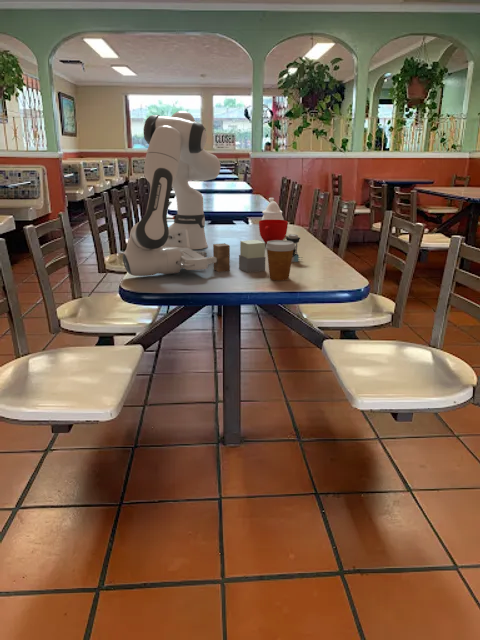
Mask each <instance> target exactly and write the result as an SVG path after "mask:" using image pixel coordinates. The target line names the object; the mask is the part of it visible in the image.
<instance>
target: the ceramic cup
mask: <svg viewBox="0 0 480 640" xmlns="http://www.w3.org/2000/svg"><path fill="white" fill-rule="evenodd" d="M258 228H259V229H258V230H259V231H258V232H259V233H260V235H261V236H260V235H259V236H260V237H261V239H262V240H263V241H262V242H264V243H265V245H267V242H268V241H273V240H284V239H286V237H287V236H286V235H287V233H288V232H287V231H288V220H285V219H283V220H262V219H261V220H259V221H258Z"/></svg>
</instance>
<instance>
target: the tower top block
mask: <svg viewBox="0 0 480 640" xmlns="http://www.w3.org/2000/svg"><path fill="white" fill-rule="evenodd" d="M239 243H240V244H239V245H240V248H239V249H240V250H239V251H240V253H239V255H241V256H243V257H246V258H260V257H265V258H266V243H265V242H264V241H261V240H258V239H249V240H240V242H239Z"/></svg>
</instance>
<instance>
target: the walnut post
mask: <svg viewBox="0 0 480 640" xmlns="http://www.w3.org/2000/svg"><path fill="white" fill-rule="evenodd" d="M212 246H213V247H212V248H213V250H212V251H213V252H212V253H213V254H212V255H213V256H212V257H216V258H217V262H216V263H212V264H213V270H214V271H215V270H216V272H217V273H221V272H230V271H231V269H230V268H231V265H230V263H231V262H230V261H231V260H230V259H231V258H230V253H231V251H230V250H231V247H230V246H231V245H230V244H227V243H214V244H213V245H212Z"/></svg>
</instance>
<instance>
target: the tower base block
mask: <svg viewBox="0 0 480 640" xmlns="http://www.w3.org/2000/svg"><path fill="white" fill-rule="evenodd" d="M238 269H239V270H241V271H243V272H245V273H254V272H255V273H256V272H258V273H259V272H265V271H266V256H265V257H260V258H246V257H243V256H241V255H240V254H239V255H238Z"/></svg>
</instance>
